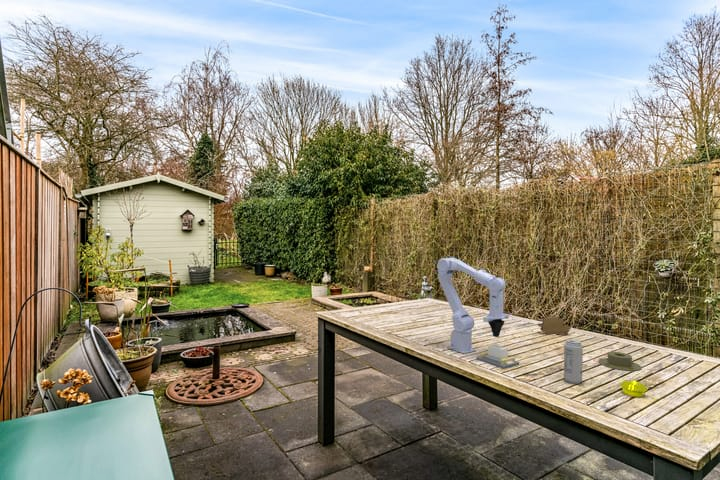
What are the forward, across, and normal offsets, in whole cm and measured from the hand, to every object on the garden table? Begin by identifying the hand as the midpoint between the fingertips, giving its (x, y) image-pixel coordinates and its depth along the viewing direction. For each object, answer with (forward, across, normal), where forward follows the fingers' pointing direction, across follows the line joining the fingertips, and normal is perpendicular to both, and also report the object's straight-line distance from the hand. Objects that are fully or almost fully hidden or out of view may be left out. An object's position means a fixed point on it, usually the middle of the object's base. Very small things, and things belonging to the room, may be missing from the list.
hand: (495, 336), depth 172 cm
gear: (+10, +9, -50) cm, 52 cm away
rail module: (+8, -4, -4) cm, 10 cm away
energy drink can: (+10, +2, -33) cm, 34 cm away
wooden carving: (+10, +60, +10) cm, 62 cm away
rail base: (+9, -4, -4) cm, 11 cm away
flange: (+10, +37, -33) cm, 51 cm away
